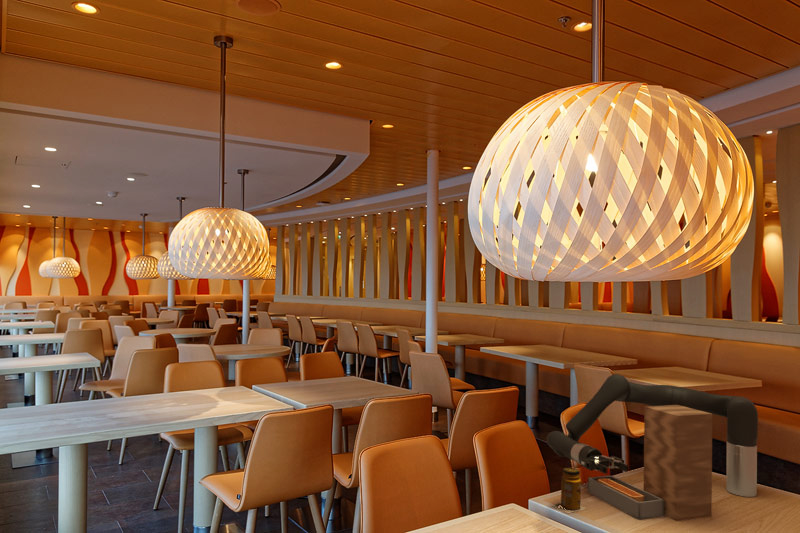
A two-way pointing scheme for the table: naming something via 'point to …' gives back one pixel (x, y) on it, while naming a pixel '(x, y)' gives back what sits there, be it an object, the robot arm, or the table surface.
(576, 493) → the condiment
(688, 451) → the walnut stand
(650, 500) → the charcoal crate
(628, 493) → the narrow crate
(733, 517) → the table surface
